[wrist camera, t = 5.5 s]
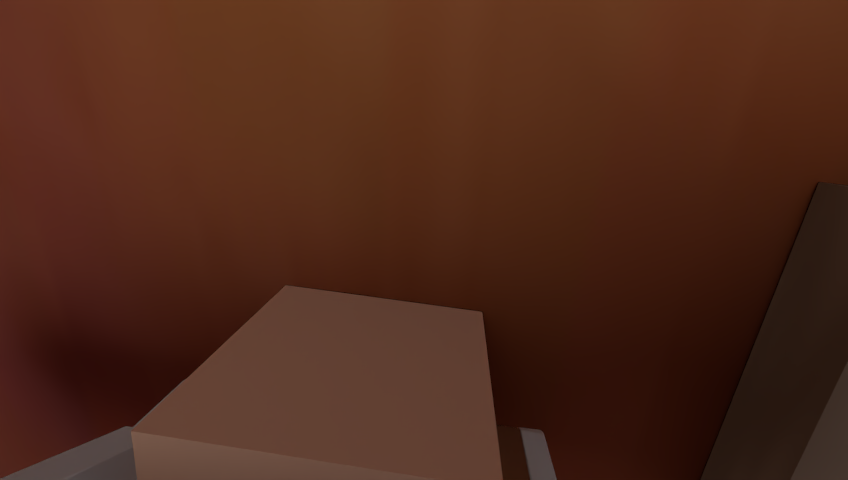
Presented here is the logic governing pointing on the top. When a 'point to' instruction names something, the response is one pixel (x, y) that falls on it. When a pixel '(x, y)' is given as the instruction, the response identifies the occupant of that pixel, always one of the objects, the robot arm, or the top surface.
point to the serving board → (797, 364)
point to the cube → (332, 397)
